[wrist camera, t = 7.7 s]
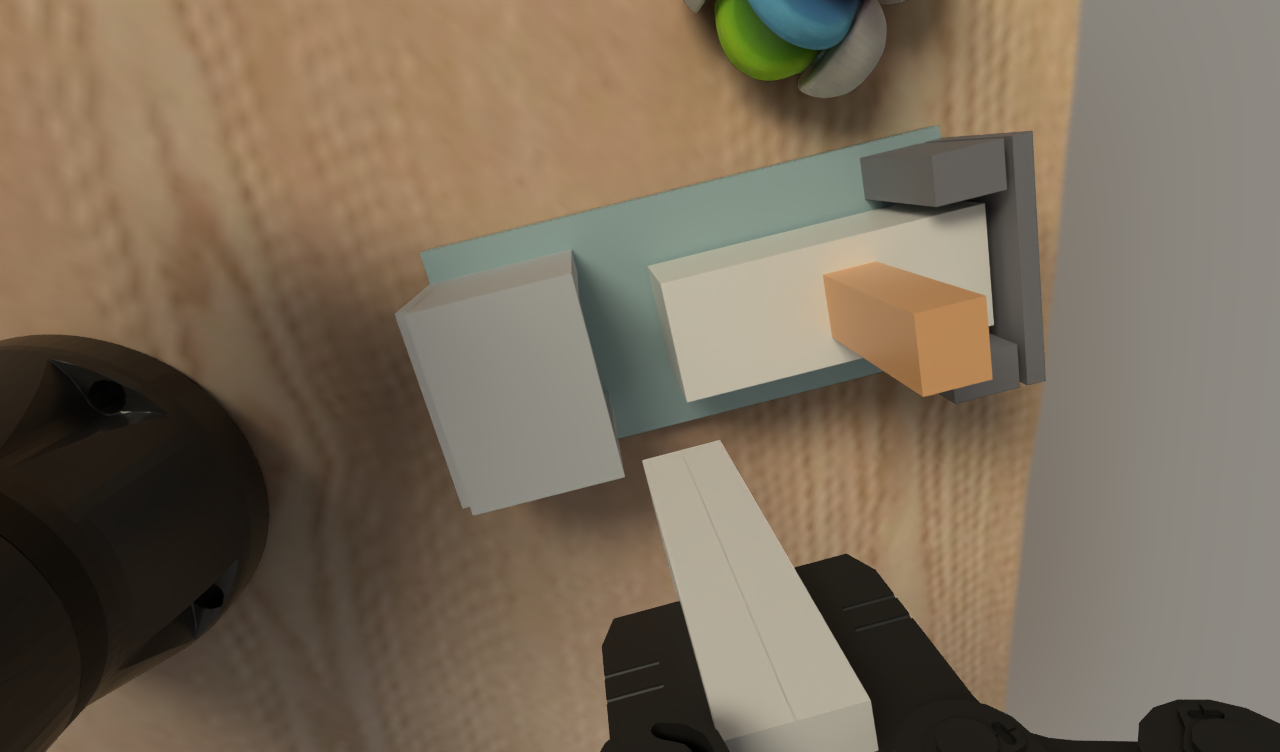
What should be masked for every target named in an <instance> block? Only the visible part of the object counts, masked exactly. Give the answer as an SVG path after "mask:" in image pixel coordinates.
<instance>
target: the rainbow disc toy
mask: <svg viewBox="0 0 1280 752" xmlns="http://www.w3.org/2000/svg"><path fill="white" fill-rule="evenodd" d="M683 1H684V3H685V4H686V5H687V6H688V8H689V9H690V10H691V11H692V12H694V13H697V12H698V11H699V10H700V9H701V7H702V5H703V4H704V2H705V1H706V0H683ZM904 1H907V0H715V6H714V10H715V22H716V29H717V34H718V37H719V41H720V44H721V46H722V49H723V51H724V52H725V54H726V56H727V58H728V59H729V61H730V62H731V63H732V64H733V65H734V66H735V67H736V68H737V69H738V70H740V71H741V72H743V73H744V74H746V75H748V76H750V77H752V78H755V79H759V80H765V81H772V80H779V79H784V78H787V77H790V76H792V75H794V74H800V73H801V72H802V74H801V76H800V78H799V82H798V88H799V90H800V91H801V92H802V93H805V94H807V95H810V96H813V97H818V98H831V97H837V96H841V95H844V94H846V93H849V92H851V91H852V90H854V89H855V88H857V87H858V86H859V85H860V84H861V83H862V82H863V81H864V80H865V79H866V78H867V77H868V75H869V74H870V73H871V72H872V70H873V69H874V68H875V66H876V65H877V63H878V62H879V60H880V58H881V56H882V54H883V52H884V48H885V44H886V35H887V26H886V19H885V16H884V13H883V10H882V8H881V5H880V4H886V5H887V4H896V3H901V2H904Z"/></svg>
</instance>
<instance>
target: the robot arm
mask: <svg viewBox="0 0 1280 752" xmlns="http://www.w3.org/2000/svg"><path fill="white" fill-rule="evenodd" d="M642 462H643V466H644V470H645V474H646V478H647V482H648V486H649V490H650V494H651V498H652V502H653V506H654V510H655V514H656V517H657V521H658V525H659V529H660V533H661V537H662V541H663V545H664V549H665V553H666V557H667V561H668V565H669V569H670V573H671V577H672V581H673V584H674V588H675V592H676V596H677V599H678V602H674V603H670V604H667V605H663V606H659V607H656V608H652V609H648V610H644V611H641V612H637V613H633V614H630V615H626V616H622V617H618V618H615V619H613V622H612V624H611V626H610V629H609V631H608V633H607V636H606V638H605V640H604V643H603V645H602V653H603V665H604V675H605V688H606V699H607V703H608V704H607V711H608V722H609V733H610V739H609V740H608V741H607V742H606V743H605V744H604V746H603V748H602V749H601V751H600V752H1280V723H1277V722H1275V721H1273V720H1271V719H1269V718H1266V717H1264V716H1262V715H1260V714H1257V713H1255V712H1253V711H1251V710H1249V709H1247V708H1243V707H1239V706H1234V705H1230V704H1226V703H1222V702H1217V701H1213V700H1175V701H1172V702H1169V703H1166V704H1163V705H1160V706H1157V707H1154V708H1153V709H1152V710H1151V711H1150V712H1149V713H1148V714H1147V715H1146V716H1145V717H1144V718H1143V719H1142V720H1141V722H1140V723H1139V733H1138V742H1128V741H1073V740H1064V739H1054V738H1047V737H1044V736H1040V735H1037V734H1033V733H1030V732H1029V731H1028V730H1027V729H1026V728H1024V727H1023V726H1022V725H1021V724H1020V723H1019V722H1018V721H1016V720H1015V719H1014V718H1013V717H1012V716H1010V715H1008V714H1005V713H1003V712H1001V711H999V710H997V709H995V708H993V707H990V706H988V705H986V704H981V703H980V702H979V701H978V700H977V699H976V698H975V697H974V696H973V695H972V694H971V692H970V691H969V690H968V689H967V687H966V686H965V685H964V683H963V682H962V681H961V680H960V678H959V677H958V676H957V674H956V673H955V672H954V671H953V669H952V668H951V667H950V665H949V664H948V663H947V662H946V660H945V659H944V658H943V656H942V655H941V654H940V653H939V651H938V650H937V649H936V647H935V646H934V645H933V643H932V642H931V641H930V640H929V638H928V637H927V636H926V634H925V633H924V632H923V631H922V629H921V628H920V627H919V625H918V624H917V623H916V622H915V620H914V619H913V618H910V616H909V613H908V611H907V610H906V609H905V607H904V606H903V605H902V604H901V602H900V601H899V600H898V598H895V597H894V593H893V592H892V591H891V589H890V588H889V587H888V586H887V584H886V583H885V582H884V580H883V579H882V578H881V577H880V575H879V574H878V573H877V571H876V570H875V569H873V568H871V567H869V566H868V565H866V564H864V563H862V562H860V561H859V560H857V559H855V558H853V557H851V556H850V555H848V554H843V555H840V556H836V557H832V558H828V559H825V560H821V561H817V562H814V563H810V564H806V565H802V566H799V567H795V568H794V567H793V565H792V563H791V562H790V560H789V558H788V557H787V555H786V553H785V551H784V550H783V548H782V546H781V544H780V543H779V541H778V539H777V538H776V536H775V534H774V532H773V531H772V529H771V527H770V525H769V524H768V522H767V520H766V519H765V517H764V515H763V513H762V512H761V510H760V508H759V507H758V505H757V503H756V501H755V500H754V498H753V496H752V494H751V493H750V491H749V489H748V488H747V486H746V484H745V482H744V481H743V479H742V477H741V475H740V474H739V472H738V470H737V469H736V467H735V465H734V463H733V462H732V460H731V458H730V456H729V455H728V453H727V451H726V450H725V448H724V446H723V444H722V443H721V441H720V440H718V441H714V442H710V443H706V444H702V445H699V446H695V447H691V448H687V449H683V450H679V451H676V452H672V453H668V454H664V455H660V456H656V457H653V458H649V459H645V460H642ZM267 530H268V501H267V494H266V489H265V484H264V480H263V477H262V474H261V471H260V468H259V466H258V463H257V461H256V458H255V456H254V454H253V452H252V450H251V448H250V446H249V444H248V443H247V441H246V439H245V438H244V436H243V435H242V433H241V432H240V430H239V429H238V427H237V426H236V425H235V423H234V422H233V421H232V420H231V418H230V417H229V416H228V415H227V413H226V412H225V411H224V410H223V409H222V408H221V407H220V406H219V405H218V404H217V403H216V402H215V401H214V400H213V399H212V398H211V397H210V396H209V395H208V394H207V393H205V392H204V391H203V390H202V389H201V388H199V387H198V386H197V385H196V384H194V383H193V382H192V381H190V380H189V379H187V378H186V377H185V376H183V375H181V374H180V373H178V372H177V371H175V370H174V369H172V368H170V367H168V366H167V365H165V364H163V363H161V362H159V361H157V360H155V359H153V358H151V357H149V356H147V355H144V354H142V353H140V352H137V351H135V350H132V349H129V348H126V347H123V346H120V345H117V344H113V343H110V342H106V341H102V340H97V339H92V338H86V337H79V336H69V335H30V336H23V337H15V338H11V339H6V340H1V341H0V752H46V751H47V750H48V748H49V747H50V746H51V745H52V744H53V743H54V742H55V741H56V739H57V738H58V737H59V736H60V735H61V733H62V732H63V731H64V730H65V729H66V728H67V727H68V726H69V725H70V723H71V722H72V721H73V720H74V719H75V718H76V717H77V716H78V715H79V714H80V712H81V711H82V710H83V709H84V708H85V707H86V706H88V705H90V704H91V703H93V702H95V701H96V700H98V699H100V698H101V697H103V696H105V695H107V694H108V693H110V692H112V691H113V690H115V689H117V688H119V687H120V686H122V685H124V684H125V683H127V682H129V681H130V680H132V679H134V678H136V677H137V676H139V675H141V674H142V673H144V672H146V671H147V670H149V669H151V668H153V667H154V666H156V665H158V664H159V663H161V662H163V661H164V660H166V659H168V658H170V657H171V656H173V655H175V654H176V653H178V652H180V651H181V650H183V649H184V648H186V647H188V646H189V645H191V644H192V643H193V642H195V641H196V640H197V639H198V638H200V637H201V636H202V635H203V634H204V633H205V632H207V631H208V630H209V629H210V628H211V627H212V626H213V625H214V624H215V623H216V622H217V621H218V620H219V619H220V618H221V617H222V615H223V614H224V613H225V612H226V610H227V609H228V608H229V606H230V605H231V604H232V603H233V601H234V600H235V599H236V598H237V596H238V595H239V594H240V592H241V591H242V590H243V589H244V587H245V586H246V585H247V583H248V582H249V580H250V579H251V577H252V575H253V574H254V572H255V570H256V568H257V566H258V563H259V561H260V559H261V556H262V553H263V550H264V546H265V542H266V537H267Z"/></svg>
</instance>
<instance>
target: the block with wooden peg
mask: <svg viewBox="0 0 1280 752" xmlns="http://www.w3.org/2000/svg"><path fill="white" fill-rule="evenodd" d="M647 268H648V272H649V277H650V281H651V285H652V290H653V294H654V298H655V303H656V307H657V312H658V316H659V320H660V325H661V329H662V333H663V338H664V342H665V346H666V351H667V355H668V360H669V364H670V368H671V370H672V372H673V374H674V377H675V379H676V381H677V383H678V385H679V387H680V389H681V391H682V393H683V395H684V397H685V399H686V401H687V402H691V401H695V400H699V399H703V398H707V397H711V396H715V395H718V394H722V393H726V392H730V391H734V390H738V389H742V388H746V387H750V386H754V385H758V384H762V383H766V382H770V381H774V380H778V379H782V378H786V377H790V376H794V375H798V374H802V373H806V372H810V371H814V370H817V369H821V368H825V367H829V366H833V365H837V364H841V363H845V362H849V361H853V360H857V359H861V358H864V359H866V360H867V361H869V362H870V363H872V364H874V365H875V366H877V367H878V368H880V369H881V370H883V371H884V372H886V373H887V374H889V375H890V376H892V377H893V378H895V379H896V380H898V381H899V382H901V383H902V384H904V385H905V386H907V387H909V388H910V389H912V390H913V391H915V392H916V393H918V394H919V395H921V396H922V397H925V396H929V395H933V394H937V393H941V392H945V391H949V390H953V389H957V388H961V387H965V386H968V385H972V384H976V383H980V382H984V381H988V380H992V379H993V378H992V365H991V352H990V339H989V326H992V325H994V319H993V306H992V292H991V279H990V266H989V252H988V239H987V225H986V212H985V203H976V202H965V201H959V202H955V203H951V204H947V205H943V206H939V207H931V206H922V205H913V204H904V203H900V204H895V205H891V206H887V207H883V208H879V209H875V210H871V211H867V212H863V213H859V214H855V215H851V216H847V217H843V218H839V219H835V220H831V221H827V222H823V223H819V224H815V225H811V226H807V227H803V228H799V229H795V230H791V231H787V232H782V233H778V234H774V235H770V236H766V237H762V238H758V239H754V240H750V241H746V242H742V243H738V244H734V245H730V246H726V247H722V248H718V249H714V250H710V251H706V252H702V253H698V254H694V255H690V256H686V257H682V258H678V259H674V260H670V261H665V262H661V263H657V264H653V265H649V266H647Z"/></svg>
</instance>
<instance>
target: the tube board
mask: <svg viewBox="0 0 1280 752" xmlns="http://www.w3.org/2000/svg"><path fill="white" fill-rule="evenodd" d="M959 201H965V202H976V203H985V212H986V225H987V239H988V252H989V266H990V279H991V292H992V306H993V319H994V325H992V326H989V339H990V352H991V365H992V378H993V379H992V380H988V381H984V382H980V383H976V384H972V385H968V386H965V387H961V388H957V389H953V390H949V391H945V392H941V393H939V394H940V395H942V396H944V397H945V398H947V399H948V400H950V401H952V402H953V403H955V404H956V403H960V402H964V401H968V400H972V399H976V398H980V397H984V396H988V395H992V394H996V393H1000V392H1004V391H1007V390H1011V389H1015V388H1019V387H1020V382H1022V383H1024V384H1026V385H1031V384H1035V383H1039V382H1043V381H1046V379H1045V360H1044V341H1043V322H1042V303H1041V284H1040V265H1039V246H1038V227H1037V208H1036V189H1035V170H1034V151H1033V132H1032V131H1025V132H1012V133H999V134H986V135H973V136H960V137H947V138H941V134H940V126H931V127H925V128H921V129H917V130H913V131H909V132H905V133H901V134H897V135H892V136H888V137H884V138H880V139H876V140H872V141H868V142H864V143H860V144H856V145H852V146H848V147H844V148H840V149H835V150H831V151H827V152H823V153H819V154H815V155H811V156H807V157H803V158H799V159H795V160H791V161H787V162H782V163H778V164H774V165H770V166H766V167H762V168H758V169H754V170H750V171H746V172H742V173H738V174H734V175H730V176H725V177H721V178H717V179H713V180H709V181H705V182H701V183H697V184H693V185H689V186H685V187H681V188H677V189H673V190H668V191H664V192H660V193H656V194H652V195H648V196H644V197H640V198H636V199H632V200H628V201H624V202H620V203H616V204H611V205H607V206H603V207H599V208H595V209H591V210H587V211H583V212H579V213H575V214H571V215H567V216H563V217H559V218H554V219H550V220H546V221H542V222H538V223H534V224H530V225H526V226H522V227H518V228H514V229H510V230H506V231H502V232H497V233H493V234H489V235H485V236H481V237H477V238H473V239H469V240H465V241H461V242H457V243H453V244H449V245H445V246H440V247H436V248H432V249H428V250H424V251H423V252H421V253H420V255H421V258H422V262H423V265H424V268H425V271H426V274H427V277H428V280H429V283H430V284H429V285H428V286H427V287H426V288H425V289H423V290H422V291H421V292H420V293H419V294H417V295H416V296H415V297H414V298H413V299H411V300H410V301H409V302H408V303H407V304H405V305H404V306H403V307H402V308H401V309H399V310H398V311H397V312H396V313H395V317H396V320H397V323H398V326H399V328H400V331H401V334H402V337H403V340H404V343H405V346H406V348H407V351H408V354H409V357H410V360H411V363H412V366H413V368H414V371H415V374H416V377H417V380H418V383H419V386H420V389H421V391H422V394H423V397H424V400H425V403H426V406H427V409H428V411H429V414H430V417H431V420H432V423H433V426H434V429H435V431H436V434H437V437H438V440H439V443H440V446H441V449H442V451H443V454H444V457H445V460H446V463H447V466H448V469H449V471H450V474H451V477H452V480H453V483H454V486H455V489H456V491H457V494H458V497H459V500H460V503H461V506H462V509H463V508H467V507H470V509H471V512H472V514H473V516H474V515H478V514H482V513H486V512H490V511H494V510H498V509H502V508H506V507H510V506H514V505H518V504H522V503H525V502H529V501H533V500H537V499H541V498H545V497H549V496H553V495H557V494H561V493H565V492H569V491H573V490H577V489H581V488H584V487H588V486H592V485H596V484H600V483H604V482H608V481H612V480H616V479H620V478H624V477H625V474H624V468H623V462H622V456H621V451H620V445H619V438H623V437H627V436H631V435H635V434H639V433H643V432H647V431H651V430H655V429H659V428H663V427H667V426H671V425H675V424H678V423H682V422H686V421H690V420H694V419H698V418H702V417H706V416H710V415H714V414H718V413H722V412H726V411H730V410H734V409H738V408H742V407H746V406H750V405H754V404H757V403H761V402H765V401H769V400H773V399H777V398H781V397H785V396H789V395H793V394H797V393H801V392H805V391H809V390H813V389H817V388H821V387H825V386H829V385H833V384H836V383H840V382H844V381H848V380H852V379H856V378H860V377H864V376H868V375H872V374H876V373H880V372H884V371H883V370H881V369H880V368H878V367H877V366H875V365H874V364H872V363H870V362H869V361H867V360H866V359H864V358H861V359H857V360H853V361H849V362H845V363H841V364H837V365H833V366H829V367H825V368H821V369H817V370H814V371H810V372H806V373H802V374H798V375H794V376H790V377H786V378H782V379H778V380H774V381H770V382H766V383H762V384H758V385H754V386H750V387H746V388H742V389H738V390H734V391H730V392H726V393H722V394H718V395H715V396H711V397H707V398H703V399H699V400H695V401H691V402H687V401H686V399H685V397H684V395H683V393H682V391H681V389H680V387H679V385H678V383H677V381H676V379H675V377H674V374H673V372H672V370H671V368H670V364H669V360H668V355H667V351H666V346H665V342H664V338H663V333H662V329H661V325H660V320H659V316H658V312H657V307H656V303H655V298H654V294H653V290H652V285H651V281H650V277H649V272H648V268H647V266H649V265H653V264H657V263H661V262H665V261H670V260H674V259H678V258H682V257H686V256H690V255H694V254H698V253H702V252H706V251H710V250H714V249H718V248H722V247H726V246H730V245H734V244H738V243H742V242H746V241H750V240H754V239H758V238H762V237H766V236H770V235H774V234H778V233H782V232H787V231H791V230H795V229H799V228H803V227H807V226H811V225H815V224H819V223H823V222H827V221H831V220H835V219H839V218H843V217H847V216H851V215H855V214H859V213H863V212H867V211H871V210H875V209H879V208H883V207H887V206H891V205H895V204H900V203H904V204H913V205H922V206H931V207H939V206H943V205H947V204H951V203H955V202H959Z"/></svg>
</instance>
